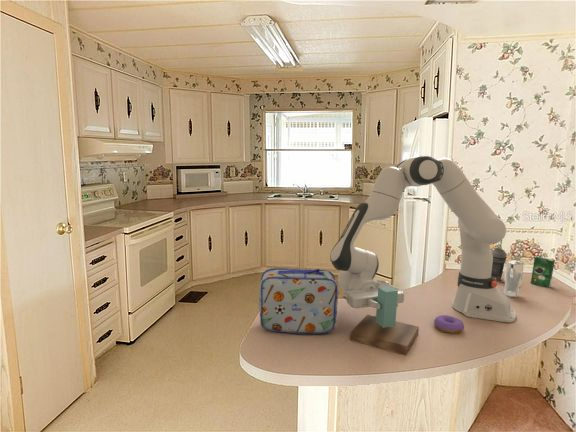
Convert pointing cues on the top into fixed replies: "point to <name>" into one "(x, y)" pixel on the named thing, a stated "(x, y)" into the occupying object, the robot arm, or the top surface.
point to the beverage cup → (498, 262)
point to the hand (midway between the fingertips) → (388, 306)
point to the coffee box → (542, 271)
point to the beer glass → (512, 277)
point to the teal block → (387, 306)
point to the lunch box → (298, 300)
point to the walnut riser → (385, 335)
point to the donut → (449, 324)
